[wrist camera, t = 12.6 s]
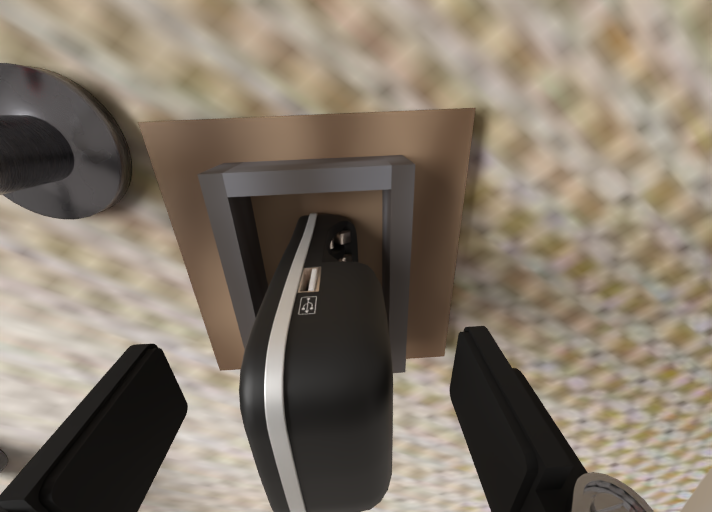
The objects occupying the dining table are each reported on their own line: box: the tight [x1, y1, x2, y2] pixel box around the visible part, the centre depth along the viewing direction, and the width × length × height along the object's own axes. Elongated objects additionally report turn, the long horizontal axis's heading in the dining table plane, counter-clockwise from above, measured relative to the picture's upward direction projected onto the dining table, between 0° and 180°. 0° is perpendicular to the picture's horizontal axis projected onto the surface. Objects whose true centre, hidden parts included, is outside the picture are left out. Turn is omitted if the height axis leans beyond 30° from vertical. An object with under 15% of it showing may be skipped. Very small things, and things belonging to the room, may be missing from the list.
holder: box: [138, 108, 475, 373], centre depth 17 cm, size 16×16×4 cm
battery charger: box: [239, 213, 393, 512], centre depth 12 cm, size 7×4×11 cm, turn 3°
